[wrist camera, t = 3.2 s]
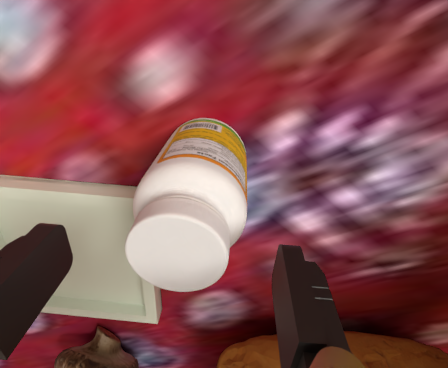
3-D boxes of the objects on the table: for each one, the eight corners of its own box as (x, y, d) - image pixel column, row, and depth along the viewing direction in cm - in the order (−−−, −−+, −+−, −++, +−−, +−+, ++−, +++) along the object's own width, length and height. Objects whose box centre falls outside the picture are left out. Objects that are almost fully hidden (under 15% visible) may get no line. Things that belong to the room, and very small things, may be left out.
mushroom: (84, 331, 25) (57, 418, 22) (160, 335, 29) (145, 407, 27) (60, 317, 30) (36, 385, 28) (127, 322, 35) (112, 381, 32)
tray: (152, 187, 20) (145, 199, 19) (162, 308, 27) (157, 324, 26) (-31, 172, 21) (-51, 182, 19) (24, 295, 28) (13, 309, 26)
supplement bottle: (206, 201, 21) (179, 320, 12) (152, 151, 19) (77, 250, 11) (263, 158, 19) (277, 266, 10) (208, 98, 17) (170, 168, 8)
